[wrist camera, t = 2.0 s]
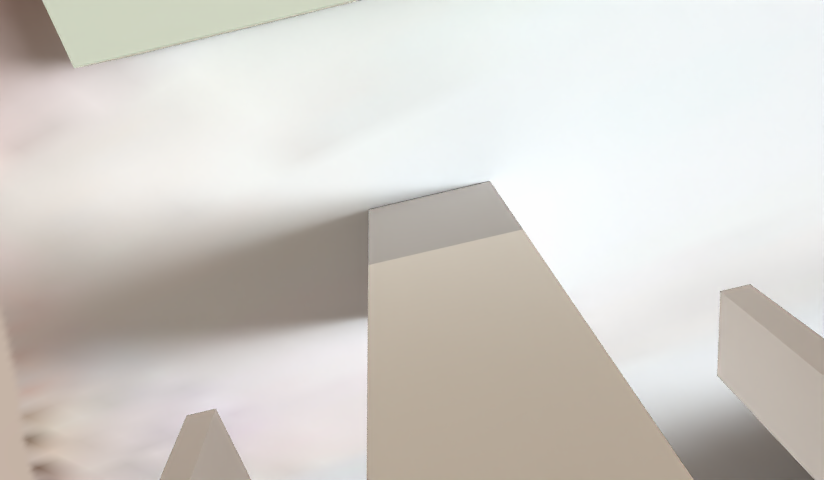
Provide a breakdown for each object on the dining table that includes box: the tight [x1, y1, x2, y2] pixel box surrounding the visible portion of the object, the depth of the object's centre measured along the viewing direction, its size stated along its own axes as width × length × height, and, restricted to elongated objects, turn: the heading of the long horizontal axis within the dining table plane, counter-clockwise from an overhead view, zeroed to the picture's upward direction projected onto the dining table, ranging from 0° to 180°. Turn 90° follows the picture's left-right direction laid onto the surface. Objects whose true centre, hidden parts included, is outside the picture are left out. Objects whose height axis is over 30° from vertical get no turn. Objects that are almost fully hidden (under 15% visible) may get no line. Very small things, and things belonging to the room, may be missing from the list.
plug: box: [367, 181, 694, 480], centre depth 15 cm, size 5×5×16 cm
